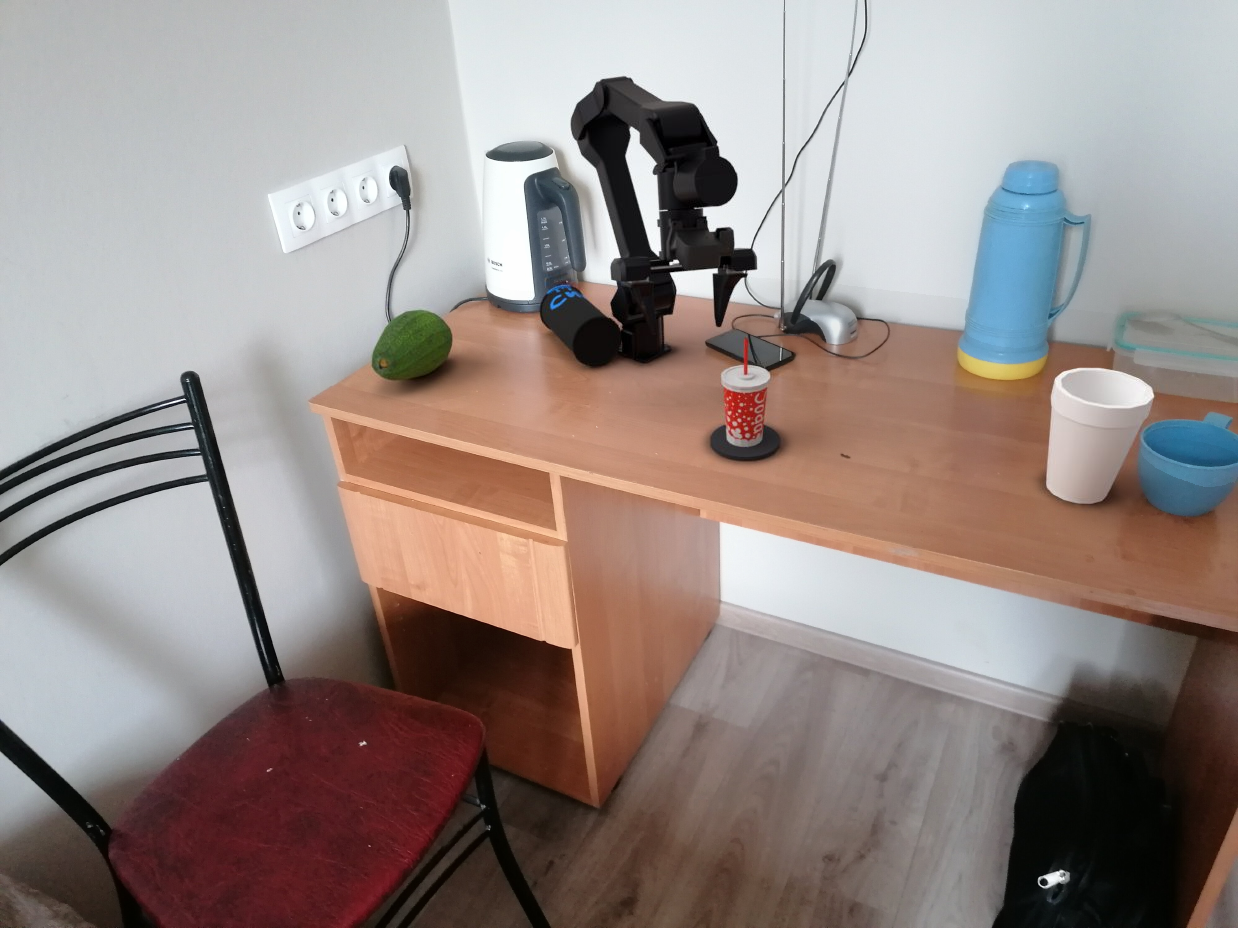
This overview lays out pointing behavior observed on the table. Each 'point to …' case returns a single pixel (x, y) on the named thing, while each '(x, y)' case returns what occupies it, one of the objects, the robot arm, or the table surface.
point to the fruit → (412, 345)
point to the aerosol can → (580, 325)
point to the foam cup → (1092, 430)
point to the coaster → (755, 452)
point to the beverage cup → (745, 401)
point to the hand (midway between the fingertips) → (686, 330)
